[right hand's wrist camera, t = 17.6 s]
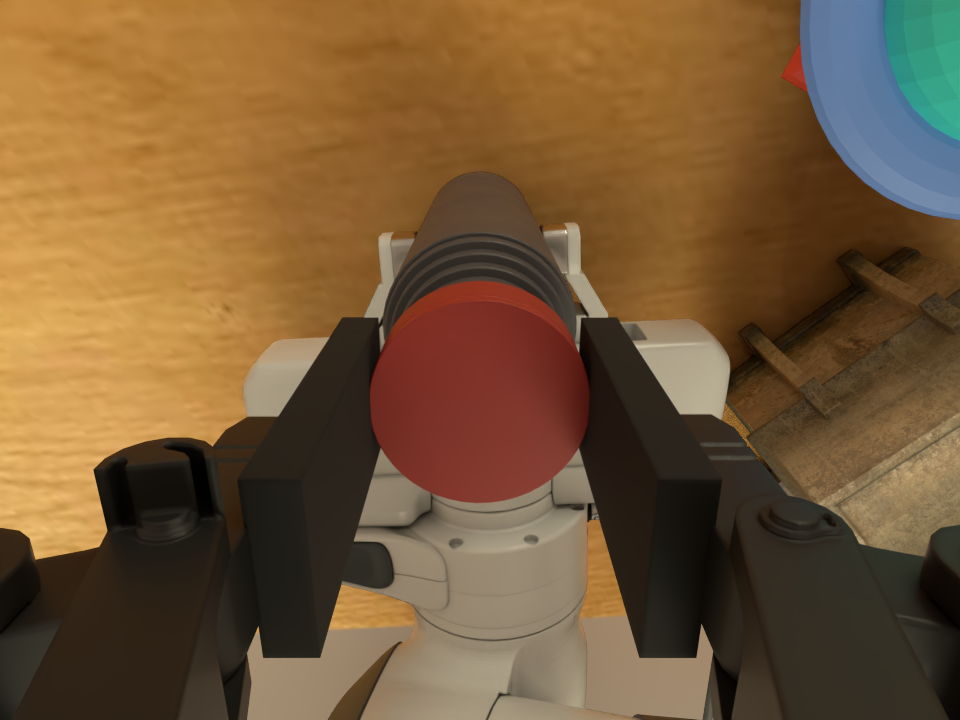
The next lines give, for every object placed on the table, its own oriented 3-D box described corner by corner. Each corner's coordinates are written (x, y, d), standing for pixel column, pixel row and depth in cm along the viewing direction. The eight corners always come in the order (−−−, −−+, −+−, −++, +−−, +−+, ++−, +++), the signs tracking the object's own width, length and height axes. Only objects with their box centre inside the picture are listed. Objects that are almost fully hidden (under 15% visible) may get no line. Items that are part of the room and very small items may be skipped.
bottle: (450, 289, 34) (411, 538, 14) (412, 194, 33) (307, 328, 13) (544, 254, 34) (638, 465, 14) (510, 155, 32) (561, 234, 12)
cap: (424, 490, 15) (419, 529, 14) (346, 322, 14) (330, 346, 12) (605, 430, 15) (619, 465, 13) (542, 249, 13) (549, 266, 12)
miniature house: (663, 388, 36) (739, 506, 25) (897, 215, 33) (1099, 267, 22) (808, 562, 40) (928, 728, 29) (1030, 423, 37) (1256, 552, 26)
